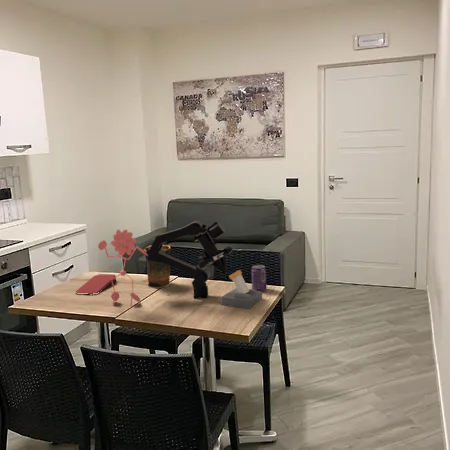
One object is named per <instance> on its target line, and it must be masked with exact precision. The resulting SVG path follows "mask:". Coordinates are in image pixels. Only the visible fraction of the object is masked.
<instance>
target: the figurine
mask: <svg viewBox="0 0 450 450" xmlns="http://www.w3.org/2000/svg"><path fill="white" fill-rule="evenodd" d="M136 243H137V239H135V238H134V237H133V232H131V231H128V229H123V231H121V230H120V229H117V230H116V232H115V233H114V234H113V240H112V241H111V242H110V244H111V245H112V246H113V247H114V251H115V252H118V254H116V255H115V254H113V255H108V250H107V245H108V243H107V241H106V240H104V239H103V240H101V241H99V242H98V245H97V246H98V247H97V248H98V249H99V251H103V250H105V253H106V257H107V258H113V257H117V258H121V259H122V260H124V262H123V268H122V270H120V273H119V274H118V275H116V277H114V278H116V279H117V277H119V276H121V277H125V276H127V277H128V278H129V279H131V280H132V281H131V284H132V285H131V286H132V291H134V280H133V278H132V277H131V276H129V274H127V271H125V266H126V261H130V260H131V258H132V256H133V255H134V253H135V251H136V250H139V252H141V253H142V254H143V255H144V254H145V255H147V253H146V252H145V251H144V249H143V248H141V247H140V246H138V245H136V246H135V244H136ZM125 254H127V255H128V256H129V257H128V258H127V257H125V256H124V255H125ZM145 255H144V256H145ZM147 256H148V255H147ZM114 278H113V279H114ZM111 281H112V280H111ZM111 285H112V287H113V292H112V293H111V296H110V298H111V300H112V306H115V301H116V302H117V301H118V300H119V298H120V293H119V292H118V291H116V290H115V285H114V282H113V281H112V282H111ZM129 296H131V297H130V305H129V307H130V306H131V307H132V304H133V300H134V301H136V302H138V303H140V302H141V299H140V298H141V297H140V296H138V294H135V293H134V292H130V295H129Z"/></svg>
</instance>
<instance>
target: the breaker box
mask: <svg viewBox="0 0 450 450" xmlns="http://www.w3.org/2000/svg"><path fill="white" fill-rule="evenodd" d="M248 289H249V291H248V292H247V293H245V294H243V293H239V292H238V290H237V288H236V287H235V288H233V289H232V290H230V291H229V292H227V293H225V294H224V295H222V296H220V301H221V302H220V303H221V305H223V306H229V307H237V308H243V309H250V308H252V307H254V306H255V305H256V304H257V303H258V302H260V301H262V300H263V291H256V290H253V289H252V288H251V289H250V288H248Z"/></svg>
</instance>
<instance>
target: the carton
mask: <svg viewBox="0 0 450 450" xmlns="http://www.w3.org/2000/svg"><path fill="white" fill-rule="evenodd" d="M116 276H117V275H116V274H113V273H112V274H109V273H108V274H107V273H106V274H105V273H102V274H100V273H99V274H97V275H93V276H92V277H91V278H90V279H89V280H88V281H86V282H85V283H84V284H83V285H81V286H80V287H79V288H78V289H77V290H75V293H76V292H77V293H88V294H93V293H98V292H100V291H101V290H102V291H103V290H104V289H106V288H107V287H108V286H109V285H110V284H112V281H115V280H116V281H117V277H116ZM114 277H116V278H114ZM113 278H114V279H113ZM111 280H112V281H111ZM116 281H115V282H116ZM102 291H101V292H102ZM101 292H100V293H101Z"/></svg>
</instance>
